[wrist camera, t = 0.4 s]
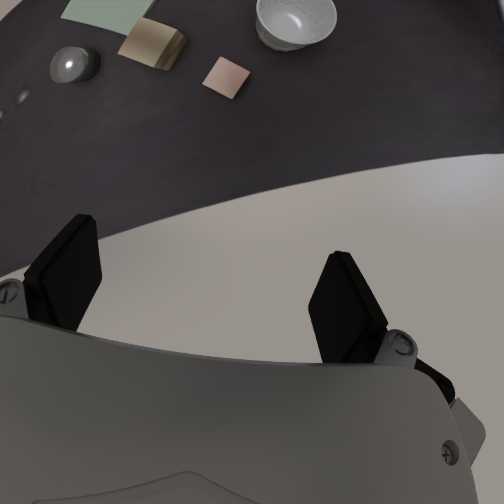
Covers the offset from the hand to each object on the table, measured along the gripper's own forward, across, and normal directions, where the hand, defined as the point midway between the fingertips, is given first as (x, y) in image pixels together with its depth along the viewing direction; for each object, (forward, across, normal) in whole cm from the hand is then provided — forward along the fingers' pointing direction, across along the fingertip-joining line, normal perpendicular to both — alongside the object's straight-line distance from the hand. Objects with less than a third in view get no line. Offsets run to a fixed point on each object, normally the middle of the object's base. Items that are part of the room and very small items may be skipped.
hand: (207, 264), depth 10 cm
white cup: (+29, -4, -17) cm, 34 cm away
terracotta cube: (+29, +2, -8) cm, 30 cm away
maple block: (+29, +11, -12) cm, 33 cm away
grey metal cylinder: (+29, +22, -10) cm, 38 cm away
